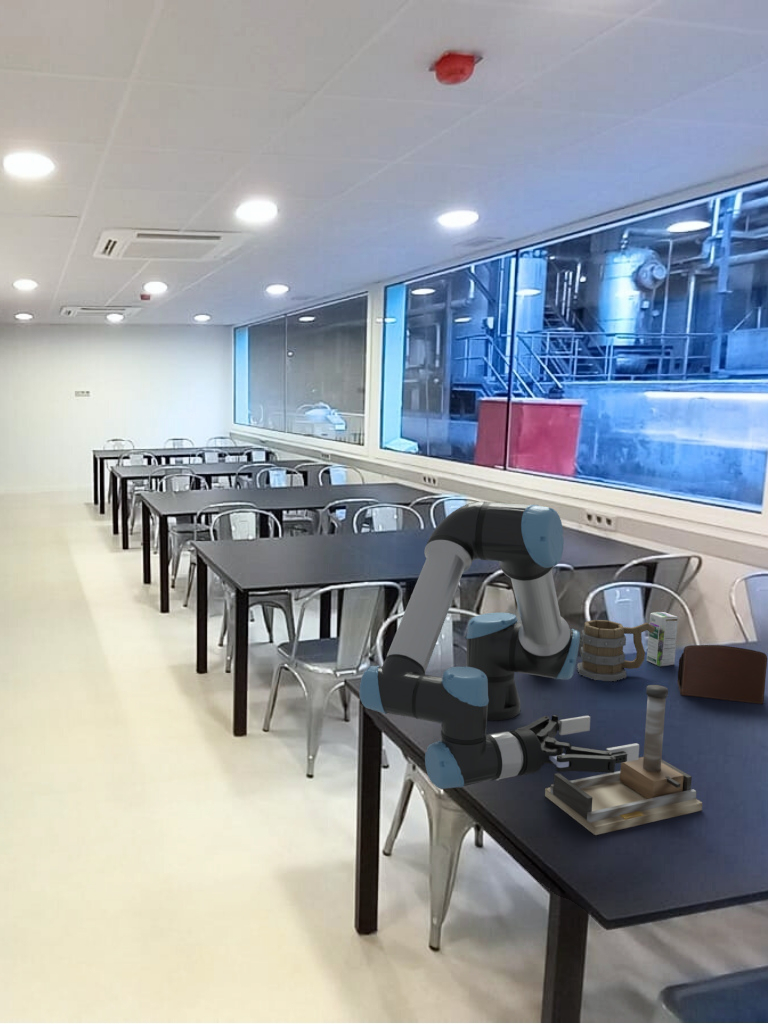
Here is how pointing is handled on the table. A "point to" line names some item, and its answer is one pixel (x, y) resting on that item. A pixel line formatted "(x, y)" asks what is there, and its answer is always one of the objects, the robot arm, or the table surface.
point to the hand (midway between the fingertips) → (612, 736)
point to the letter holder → (722, 673)
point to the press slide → (652, 754)
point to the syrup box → (662, 639)
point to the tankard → (609, 649)
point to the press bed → (618, 802)
